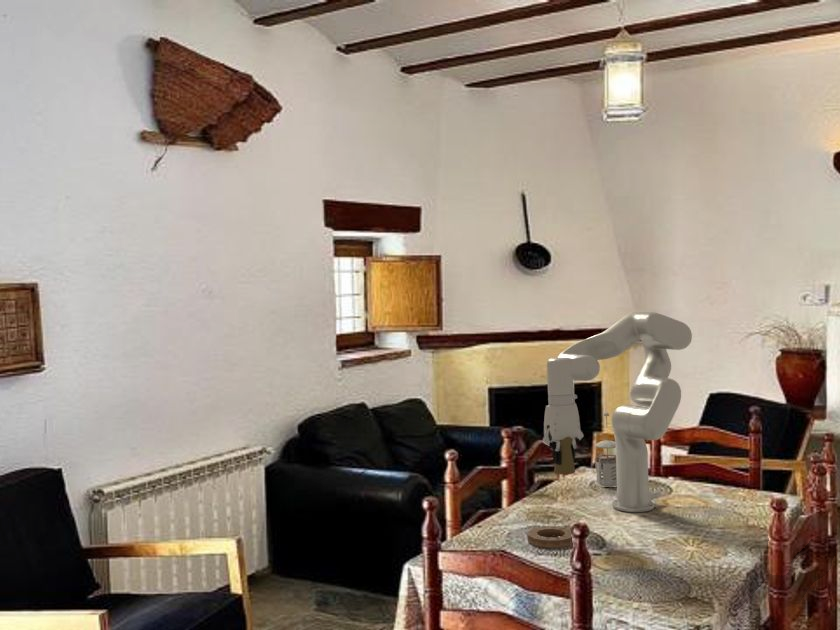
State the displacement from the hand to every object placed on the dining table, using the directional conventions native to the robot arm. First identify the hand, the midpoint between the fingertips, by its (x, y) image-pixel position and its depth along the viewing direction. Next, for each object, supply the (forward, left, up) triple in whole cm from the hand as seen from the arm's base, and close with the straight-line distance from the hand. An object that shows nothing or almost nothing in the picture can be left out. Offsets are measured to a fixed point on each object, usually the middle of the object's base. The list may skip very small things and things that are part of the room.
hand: (564, 462), depth 239 cm
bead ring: (+12, +10, -18) cm, 24 cm away
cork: (0, 0, -3) cm, 3 cm away
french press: (-39, -29, -18) cm, 52 cm away
